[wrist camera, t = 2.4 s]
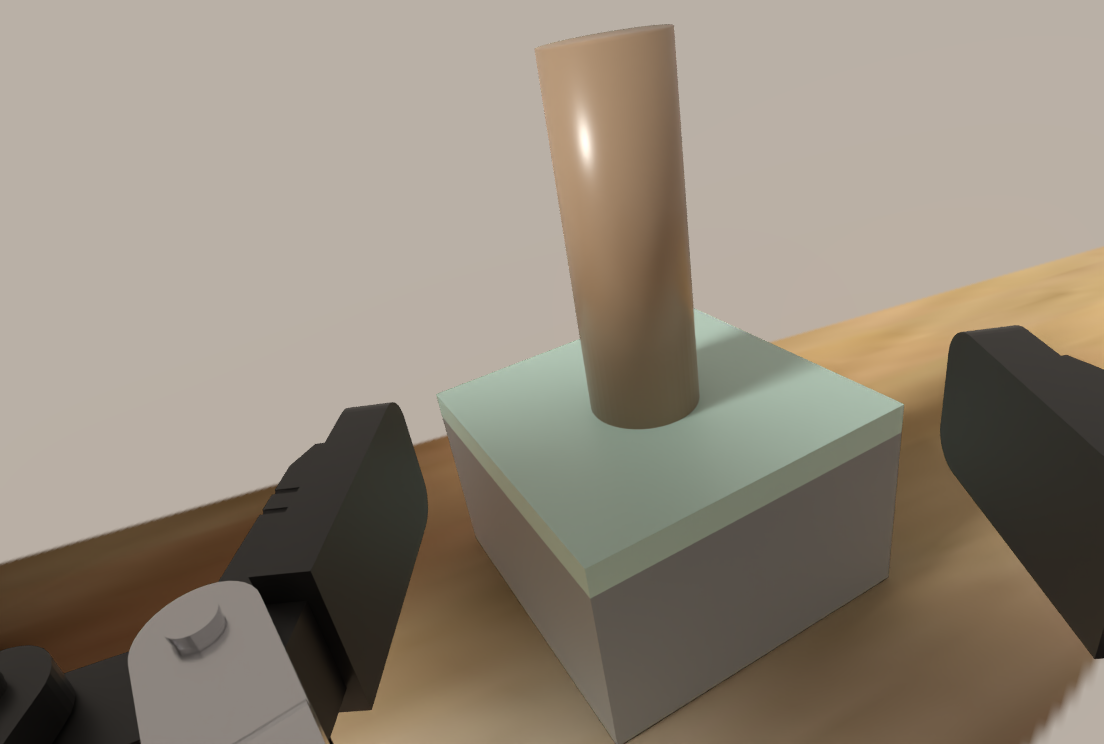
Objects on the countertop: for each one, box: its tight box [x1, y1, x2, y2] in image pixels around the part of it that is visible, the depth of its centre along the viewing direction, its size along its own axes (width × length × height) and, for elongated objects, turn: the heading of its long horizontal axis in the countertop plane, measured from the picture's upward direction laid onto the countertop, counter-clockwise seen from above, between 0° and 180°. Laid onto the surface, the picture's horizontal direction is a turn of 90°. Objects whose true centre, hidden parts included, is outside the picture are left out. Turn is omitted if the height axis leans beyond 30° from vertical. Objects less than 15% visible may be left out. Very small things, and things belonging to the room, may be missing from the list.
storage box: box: [443, 418, 902, 744], centre depth 25 cm, size 11×11×6 cm
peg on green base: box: [436, 24, 904, 599], centre depth 21 cm, size 11×11×13 cm
